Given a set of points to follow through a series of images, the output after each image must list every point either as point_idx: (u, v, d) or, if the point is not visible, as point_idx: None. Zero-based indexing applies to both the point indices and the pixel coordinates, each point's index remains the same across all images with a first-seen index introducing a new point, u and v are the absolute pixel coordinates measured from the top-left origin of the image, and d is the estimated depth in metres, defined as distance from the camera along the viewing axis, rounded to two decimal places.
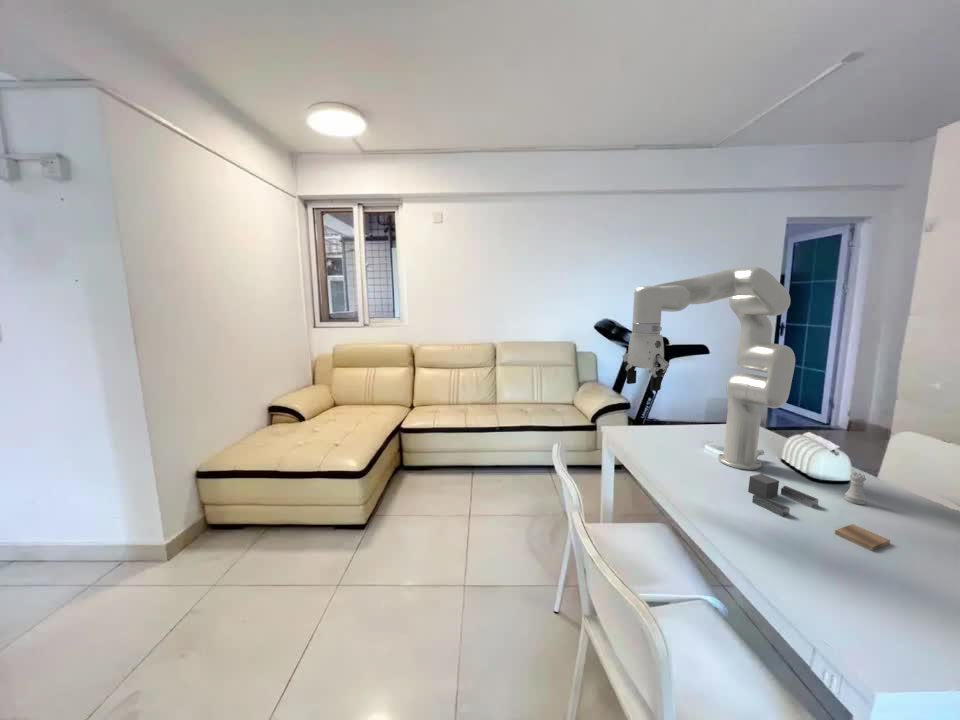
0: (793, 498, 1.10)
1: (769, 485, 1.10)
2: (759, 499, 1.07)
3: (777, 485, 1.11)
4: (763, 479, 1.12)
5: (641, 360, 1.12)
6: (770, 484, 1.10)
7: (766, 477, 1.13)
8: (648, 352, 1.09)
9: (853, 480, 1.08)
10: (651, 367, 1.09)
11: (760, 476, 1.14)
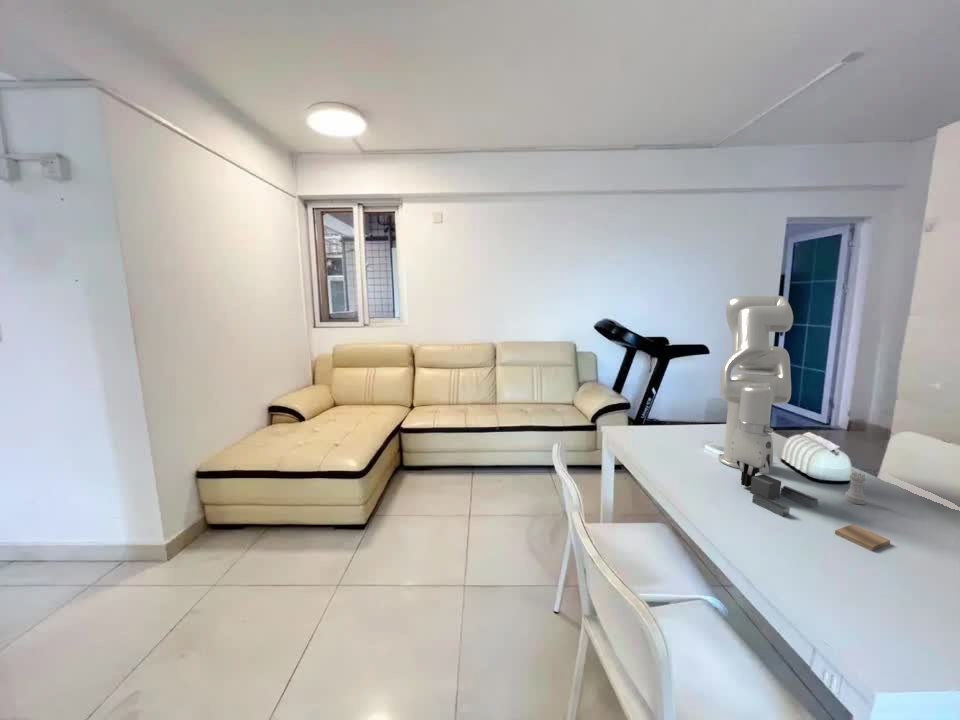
0: (793, 498, 1.10)
1: (771, 486, 1.09)
2: (759, 499, 1.07)
3: (779, 486, 1.11)
4: (765, 479, 1.12)
5: (749, 458, 1.14)
6: (772, 484, 1.09)
7: (768, 477, 1.13)
8: (758, 452, 1.11)
9: (853, 480, 1.08)
10: (761, 467, 1.11)
11: (762, 476, 1.13)
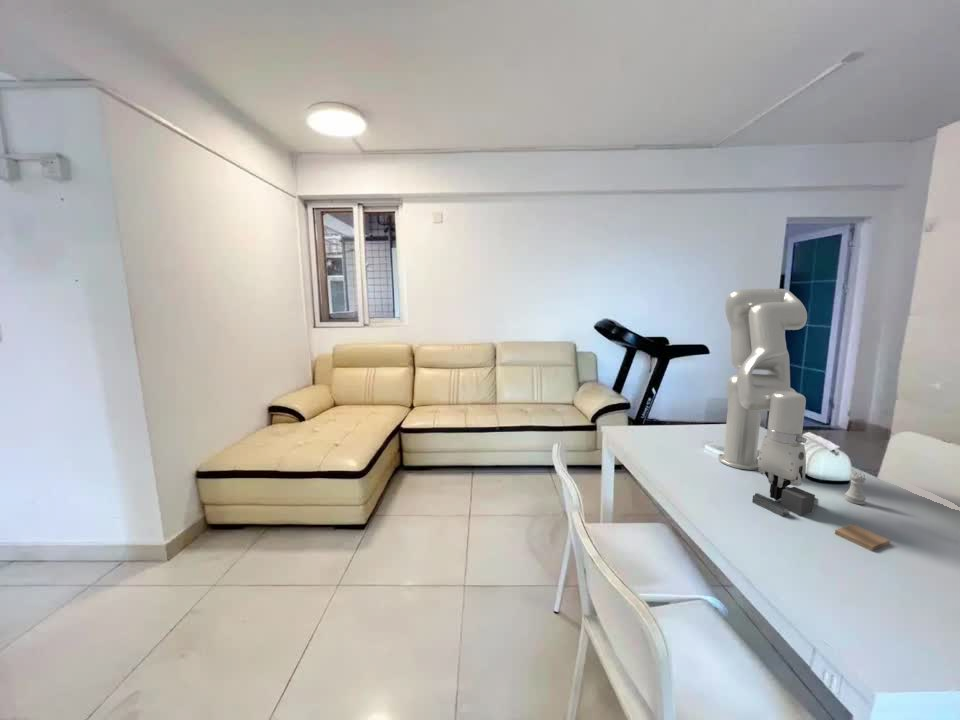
0: None
1: (805, 500, 1.02)
2: (759, 499, 1.07)
3: (813, 500, 1.03)
4: (797, 492, 1.04)
5: (779, 469, 1.06)
6: (805, 499, 1.02)
7: (800, 491, 1.05)
8: (790, 463, 1.04)
9: (853, 480, 1.08)
10: (793, 479, 1.04)
11: (793, 489, 1.06)
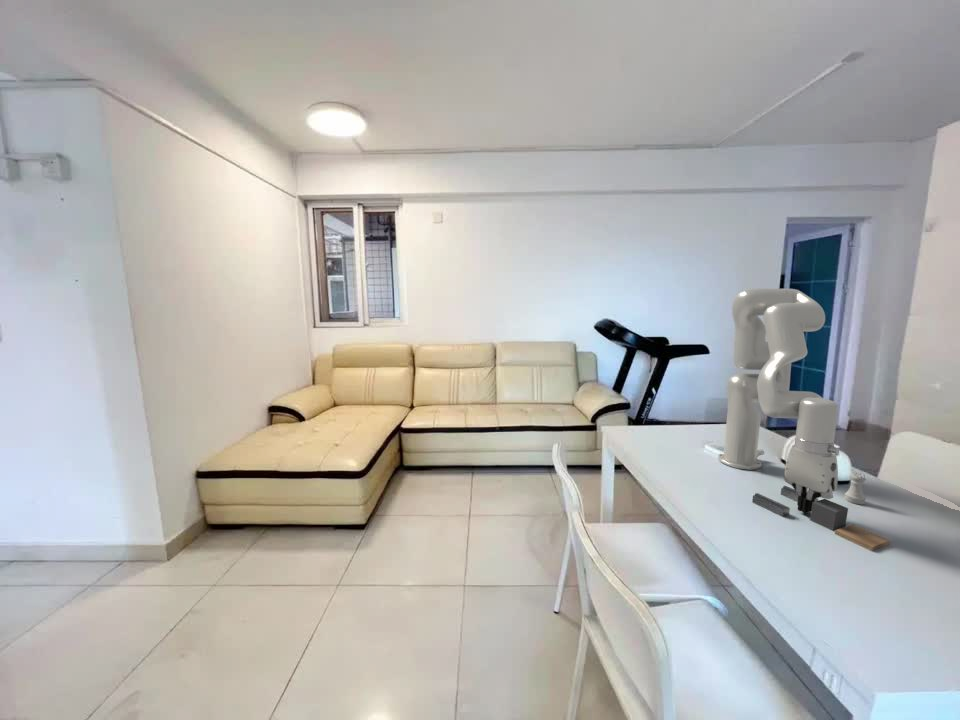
0: (793, 498, 1.10)
1: (838, 514, 0.95)
2: (759, 499, 1.07)
3: (846, 513, 0.96)
4: (829, 505, 0.97)
5: (809, 481, 1.00)
6: (838, 512, 0.95)
7: (832, 503, 0.98)
8: (821, 475, 0.97)
9: (853, 480, 1.08)
10: (825, 492, 0.97)
11: (824, 502, 0.99)
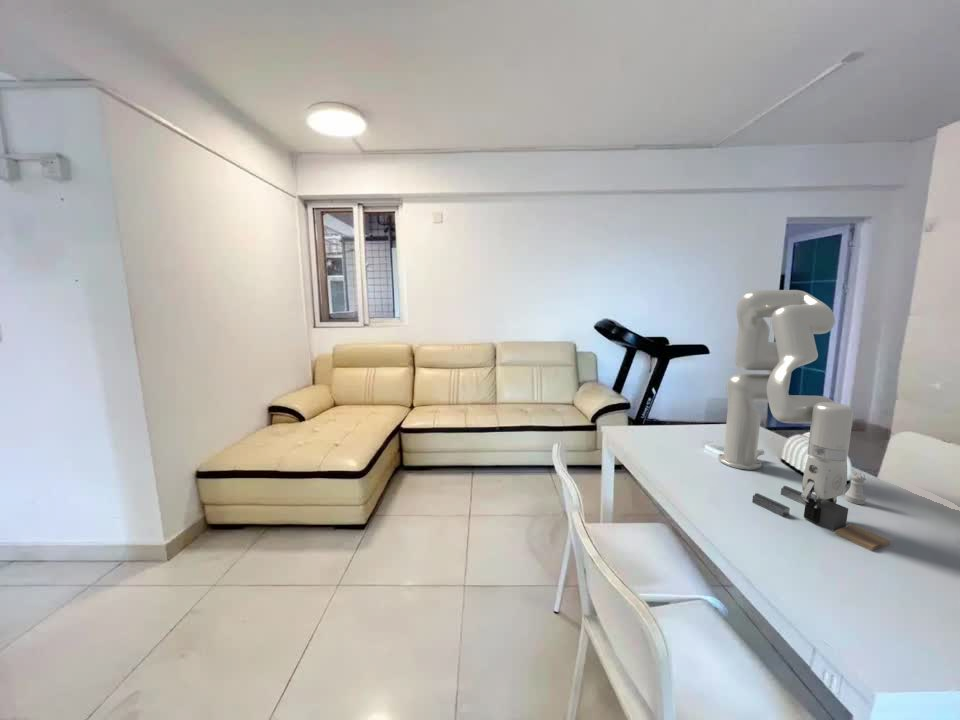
0: (793, 498, 1.10)
1: (838, 514, 0.95)
2: (759, 499, 1.07)
3: (846, 513, 0.96)
4: (829, 506, 0.97)
5: None
6: (839, 512, 0.95)
7: (832, 504, 0.98)
8: None
9: (853, 480, 1.08)
10: None
11: (824, 502, 0.99)
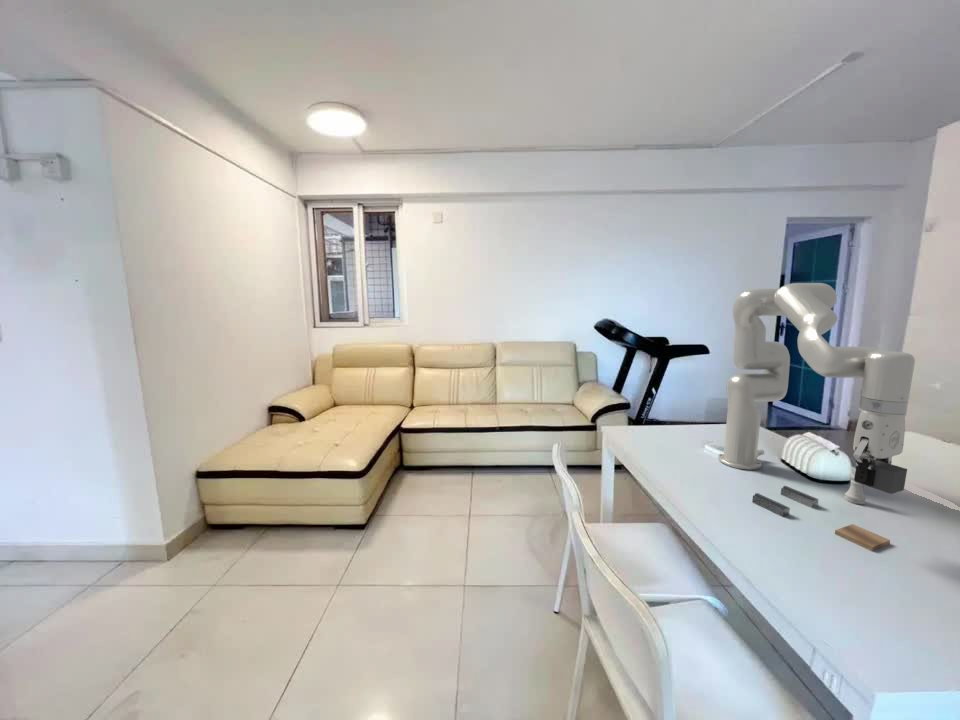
0: (793, 498, 1.10)
1: (896, 475, 0.84)
2: (759, 499, 1.07)
3: (905, 475, 0.86)
4: (885, 466, 0.87)
5: None
6: (897, 473, 0.84)
7: (887, 465, 0.88)
8: None
9: (853, 480, 1.08)
10: (854, 450, 0.89)
11: (879, 463, 0.88)
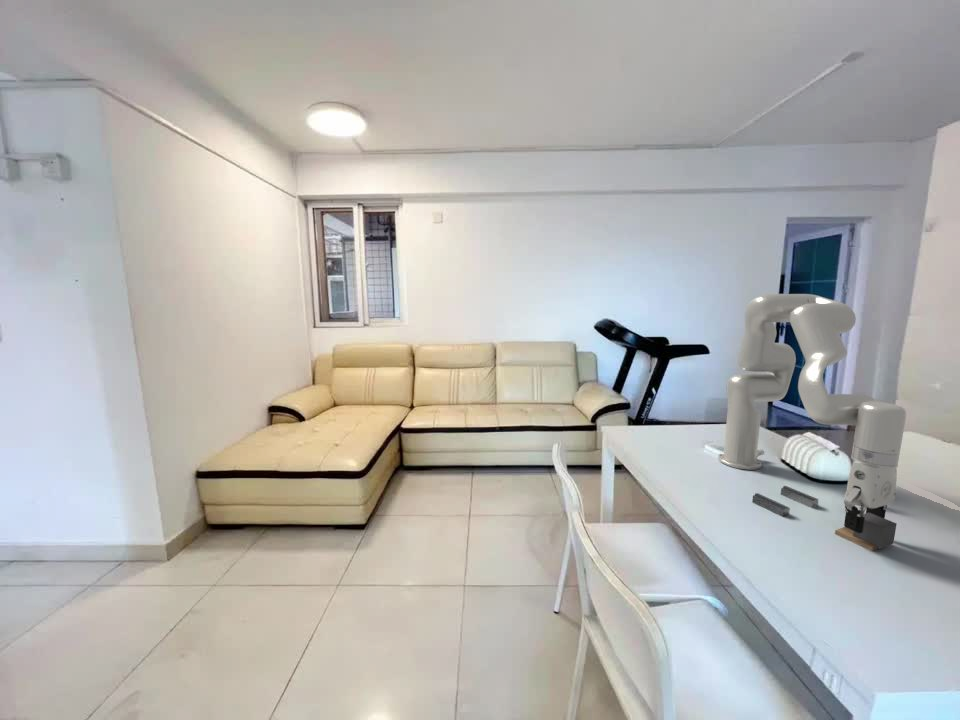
0: (793, 498, 1.10)
1: (886, 530, 0.87)
2: (759, 499, 1.07)
3: (894, 529, 0.88)
4: (875, 520, 0.89)
5: None
6: (886, 528, 0.87)
7: (877, 518, 0.90)
8: None
9: None
10: None
11: (869, 516, 0.91)
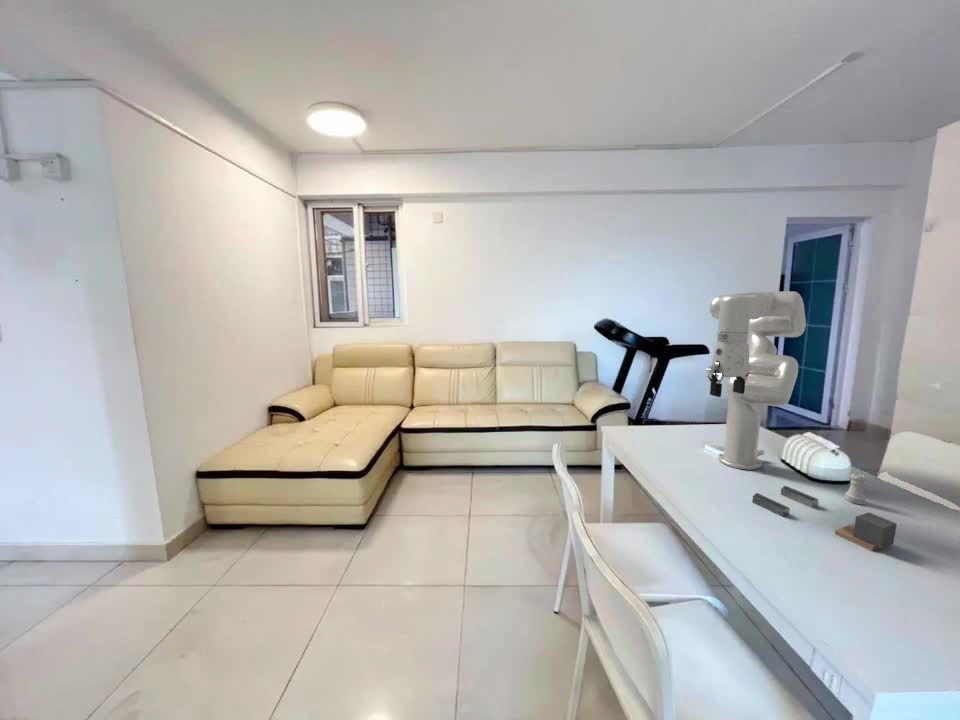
0: (793, 498, 1.10)
1: (886, 530, 0.87)
2: (759, 499, 1.07)
3: (894, 529, 0.88)
4: (875, 520, 0.89)
5: None
6: (886, 528, 0.87)
7: (877, 518, 0.90)
8: None
9: (853, 480, 1.08)
10: None
11: (869, 516, 0.91)
